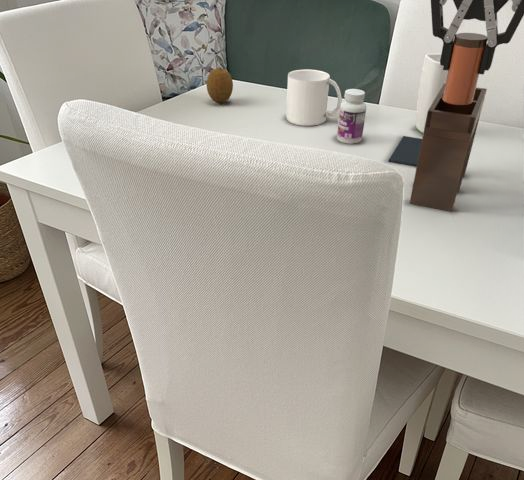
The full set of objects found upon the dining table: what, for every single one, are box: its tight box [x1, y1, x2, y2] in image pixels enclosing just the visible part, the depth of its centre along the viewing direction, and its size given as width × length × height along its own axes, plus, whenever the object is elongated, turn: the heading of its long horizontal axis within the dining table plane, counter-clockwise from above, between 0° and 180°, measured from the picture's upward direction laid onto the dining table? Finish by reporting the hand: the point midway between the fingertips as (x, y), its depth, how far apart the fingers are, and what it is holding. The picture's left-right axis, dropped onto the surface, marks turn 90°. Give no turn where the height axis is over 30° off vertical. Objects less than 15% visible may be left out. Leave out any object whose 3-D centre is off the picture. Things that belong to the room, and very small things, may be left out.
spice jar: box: [442, 32, 488, 105], centre depth 86 cm, size 5×5×9 cm
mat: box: [388, 135, 422, 167], centre depth 115 cm, size 8×14×1 cm, turn 157°
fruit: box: [206, 66, 234, 105], centre depth 134 cm, size 6×6×8 cm
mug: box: [285, 68, 343, 127], centre depth 126 cm, size 12×9×9 cm
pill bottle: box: [336, 88, 367, 145], centre depth 117 cm, size 5×5×10 cm
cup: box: [415, 52, 448, 135], centre depth 119 cm, size 7×7×15 cm
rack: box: [409, 83, 488, 212], centre depth 97 cm, size 7×16×16 cm, turn 157°
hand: (464, 70), depth 86 cm, fingers closed on spice jar, 4 cm apart
